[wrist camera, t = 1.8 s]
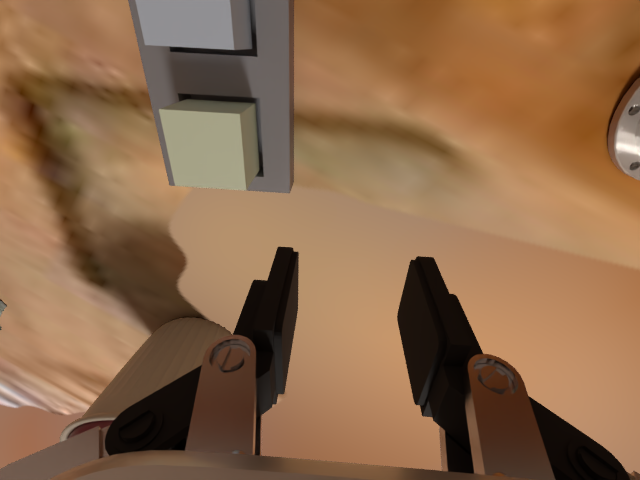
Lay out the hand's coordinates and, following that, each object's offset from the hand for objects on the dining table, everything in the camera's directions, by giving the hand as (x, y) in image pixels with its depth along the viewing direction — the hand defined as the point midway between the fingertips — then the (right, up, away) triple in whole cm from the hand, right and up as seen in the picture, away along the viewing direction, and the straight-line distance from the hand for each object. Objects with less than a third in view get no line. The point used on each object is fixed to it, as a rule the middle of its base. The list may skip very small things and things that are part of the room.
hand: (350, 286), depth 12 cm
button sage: (-10, +11, +17) cm, 23 cm away
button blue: (-9, +20, +12) cm, 25 cm away
